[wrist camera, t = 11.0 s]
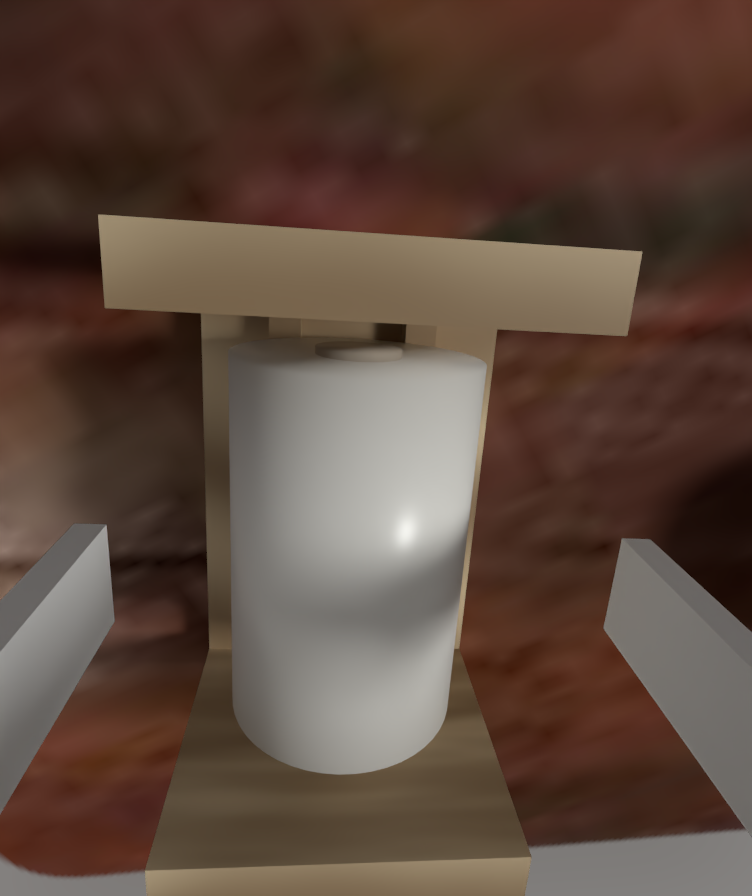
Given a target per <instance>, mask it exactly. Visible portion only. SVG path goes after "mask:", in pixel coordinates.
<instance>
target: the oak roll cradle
mask: <svg viewBox="0 0 752 896" xmlns="http://www.w3.org/2000/svg"><path fill="white" fill-rule="evenodd" d="M98 220H99V234H100V248H101V262H102V276H103V290H104V304H105V308H112V309H131V310H149V311H168V312H186V313H201V337H202V377H203V417H204V456H205V496H206V536H207V576H208V616H209V652H208V655H207V659H206V662H205V665H204V669H203V672H202V676H201V679H200V683H199V686H198V690H197V693H196V697H195V700H194V703H193V707H192V710H191V714H190V717H189V721H188V724H187V728H186V731H185V734H184V738H183V741H182V745H181V748H180V752H179V755H178V759H177V762H176V766H175V769H174V772H173V776H172V779H171V783H170V786H169V790H168V793H167V797H166V800H165V803H164V807H163V810H162V814H161V817H160V821H159V824H158V828H157V831H156V835H155V838H154V841H153V845H152V848H151V852H150V855H149V859H148V862H147V866H146V869H145V876H146V892H147V896H525V890H526V885H527V879H528V874H529V869H530V863H531V854H530V852H529V848H528V845H527V843H526V840H525V837H524V834H523V831H522V828H521V825H520V822H519V820H518V817H517V814H516V811H515V808H514V805H513V802H512V799H511V797H510V794H509V791H508V788H507V785H506V782H505V779H504V776H503V774H502V771H501V768H500V765H499V762H498V759H497V756H496V754H495V751H494V748H493V745H492V742H491V739H490V736H489V733H488V731H487V728H486V725H485V722H484V719H483V716H482V713H481V710H480V708H479V705H478V702H477V699H476V696H475V693H474V690H473V687H472V685H471V682H470V679H469V676H468V673H467V670H466V667H465V665H464V662H463V659H462V656H461V653H460V650H459V645H460V636H461V628H462V620H463V611H464V603H465V594H466V586H467V578H468V569H469V561H470V552H471V544H472V536H473V527H474V519H475V510H476V502H477V494H478V485H479V477H480V469H481V460H482V452H483V443H484V435H485V427H486V418H487V410H488V401H489V393H490V385H491V376H492V368H493V359H494V351H495V343H496V334H497V329H503V330H522V331H541V332H559V333H578V334H597V335H615V336H627V334H628V328H629V323H630V317H631V312H632V306H633V301H634V295H635V290H636V285H637V279H638V274H639V268H640V263H641V257H642V252H640V251H625V250H610V249H596V248H581V247H566V246H552V245H537V244H523V243H508V242H493V241H479V240H464V239H449V238H435V237H420V236H405V235H391V234H376V233H362V232H347V231H332V230H318V229H303V228H288V227H274V226H259V225H245V224H230V223H215V222H201V221H186V220H171V219H157V218H142V217H127V216H113V215H98ZM313 337H318V338H352V339H369V340H382V341H392V342H402V343H411V344H418V345H425V346H431V347H437V348H443V349H448V350H452V351H457V352H461V353H464V354H468V355H471V356H474V357H476V358H479V359H481V360H482V361H484V362H485V363H486V364H487V369H486V378H485V387H484V395H483V404H482V413H481V421H480V430H479V438H478V447H477V456H476V464H475V473H474V482H473V490H472V499H471V508H470V516H469V525H468V533H467V542H466V551H465V559H464V568H463V577H462V585H461V594H460V602H459V611H458V620H457V628H456V637H455V646H454V654H453V663H452V671H451V680H450V689H449V697H448V706H447V712H446V716H445V720H444V722H443V724H442V726H441V728H440V730H439V731H438V733H437V734H436V735H435V737H434V738H433V739H432V740H431V741H430V742H429V743H428V744H427V745H426V746H425V747H424V748H423V749H422V750H420V751H419V752H418V753H416V754H415V755H414V756H412V757H410V758H408V759H406V760H404V761H402V762H400V763H398V764H395V765H393V766H390V767H388V768H384V769H380V770H376V771H373V772H366V773H359V774H342V775H337V774H323V773H317V772H312V771H306V770H303V769H300V768H296V767H293V766H290V765H288V764H285V763H283V762H281V761H278V760H276V759H275V758H273V757H271V756H270V755H268V754H266V753H265V752H263V751H262V750H261V749H260V748H258V747H257V746H256V745H255V744H253V742H252V741H251V740H250V739H249V738H248V737H247V736H246V735H245V733H244V732H243V730H242V729H241V727H240V726H239V724H238V722H237V719H236V717H235V714H234V709H233V699H232V620H231V540H230V461H229V381H228V350H229V349H230V348H231V347H233V346H235V345H238V344H241V343H245V342H250V341H257V340H266V339H278V338H313Z"/></svg>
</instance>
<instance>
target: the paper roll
mask: <svg viewBox="0 0 752 896" xmlns="http://www.w3.org/2000/svg"><path fill="white" fill-rule="evenodd" d="M486 369H487V364H486V363H485V362H484V361H482V360H481V359H479V358H476V357H474V356H471V355H468V354H464V353H461V352H457V351H452V350H448V349H443V348H437V347H431V346H425V345H418V344H411V343H402V342H392V341H382V340H369V339H352V338H318V337H313V338H278V339H266V340H257V341H250V342H245V343H241V344H238V345H235V346H233V347H231V348H230V349H229V350H228V381H229V461H230V540H231V620H232V699H233V709H234V714H235V717H236V719H237V722H238V724H239V726H240V727H241V729H242V730H243V732H244V733H245V735H246V736H247V737H248V738H249V739H250V740H251V741H252V742H253V744H255V745H256V746H257V747H258V748H260V749H261V750H262V751H263V752H265V753H266V754H268V755H270V756H271V757H273V758H275V759H276V760H278V761H281V762H283V763H285V764H288V765H290V766H293V767H296V768H300V769H303V770H306V771H312V772H317V773H323V774H337V775H342V774H359V773H366V772H373V771H376V770H380V769H384V768H388V767H390V766H393V765H395V764H398V763H400V762H402V761H404V760H406V759H408V758H410V757H412V756H414V755H415V754H416V753H418V752H419V751H420V750H422V749H423V748H424V747H425V746H426V745H427V744H428V743H429V742H430V741H431V740H432V739H433V738H434V737H435V735H436V734H437V733H438V731H439V730H440V728H441V726H442V724H443V722H444V720H445V716H446V712H447V706H448V697H449V689H450V680H451V671H452V663H453V654H454V646H455V637H456V628H457V620H458V611H459V602H460V594H461V585H462V577H463V568H464V559H465V551H466V542H467V533H468V525H469V516H470V508H471V499H472V490H473V482H474V473H475V464H476V456H477V447H478V438H479V430H480V421H481V413H482V404H483V395H484V387H485V378H486Z"/></svg>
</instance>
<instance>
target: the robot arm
mask: <svg viewBox="0 0 752 896" xmlns="http://www.w3.org/2000/svg"><path fill="white" fill-rule="evenodd" d="M114 621H115V619H114V607H113V596H112V584H111V572H110V560H109V548H108V536H107V524H75V523H74V524H73V525H72V526H71V527H70V528H69V529H68V530H67V532H66V533H65V534H64V535H63V536H62V537H61V538H60V539H59V540H58V541H57V542H56V543H55V544H54V545H53V546H52V547H51V548H50V549H49V550H48V551H47V552H46V553H45V555H44V556H43V557H42V558H41V559H40V560H39V561H38V562H37V563H36V564H35V565H34V566H33V567H32V568H31V569H30V570H29V571H28V572H27V573H26V574H25V575H24V577H23V578H22V579H21V580H20V581H19V582H18V583H17V584H16V585H15V586H14V587H13V588H12V589H11V590H10V591H9V592H8V593H7V594H6V595H5V596H4V597H3V599H2V600H1V601H0V813H1V812H2V810H3V808H4V807H5V805H6V803H7V802H8V800H9V798H10V796H11V795H12V793H13V791H14V790H15V788H16V786H17V785H18V783H19V781H20V780H21V778H22V776H23V775H24V773H25V771H26V770H27V768H28V766H29V765H30V763H31V761H32V759H33V758H34V756H35V754H36V753H37V751H38V749H39V748H40V746H41V744H42V743H43V741H44V739H45V738H46V736H47V734H48V733H49V731H50V729H51V727H52V726H53V724H54V722H55V721H56V719H57V717H58V716H59V714H60V712H61V711H62V709H63V707H64V706H65V704H66V702H67V701H68V699H69V697H70V696H71V694H72V692H73V690H74V689H75V687H76V685H77V684H78V682H79V680H80V679H81V677H82V675H83V674H84V672H85V670H86V669H87V667H88V665H89V664H90V662H91V660H92V658H93V657H94V655H95V653H96V652H97V650H98V648H99V647H100V645H101V643H102V642H103V640H104V638H105V637H106V635H107V633H108V632H109V630H110V628H111V627H112V625H113V623H114ZM603 629H604V630H605V631H606V633H607V634H608V636H609V637H610V638H611V640H612V641H613V643H614V644H615V645H616V647H617V648H618V650H619V651H620V652H621V654H622V655H623V657H624V658H625V659H626V661H627V662H628V664H629V665H630V667H631V668H632V669H633V671H634V672H635V674H636V675H637V676H638V678H639V679H640V681H641V682H642V683H643V685H644V686H645V688H646V689H647V690H648V692H649V693H650V695H651V696H652V698H653V699H654V700H655V702H656V703H657V705H658V706H659V707H660V709H661V710H662V712H663V713H664V714H665V716H666V717H667V719H668V720H669V721H670V723H671V724H672V726H673V727H674V728H675V730H676V731H677V733H678V734H679V736H680V737H681V738H682V740H683V741H684V743H685V744H686V745H687V747H688V748H689V750H690V751H691V752H692V754H693V755H694V757H695V758H696V759H697V761H698V762H699V764H700V765H701V766H702V768H703V769H704V771H705V772H706V774H707V775H708V776H709V778H710V779H711V781H712V782H713V783H714V785H715V786H716V788H717V789H718V790H719V792H720V793H721V795H722V796H723V797H724V799H725V800H726V802H727V803H728V804H729V806H730V807H731V809H732V810H733V812H734V813H735V814H736V816H737V817H738V819H739V820H740V821H741V823H742V824H743V826H744V827H745V828H746V830H747V831H748V833H749V834H750V835H751V837H752V632H751V631H750V630H749V629H747V628H746V627H745V626H744V625H743V624H742V623H741V622H740V621H739V620H738V619H737V618H735V617H734V616H733V615H732V614H731V613H730V612H729V611H728V610H727V609H726V608H725V607H723V606H722V605H721V604H720V603H719V602H718V601H717V600H716V599H715V598H714V597H713V596H711V595H710V594H709V593H708V592H707V591H706V590H705V589H704V588H703V587H702V586H701V585H699V584H698V583H697V582H696V581H695V580H694V579H693V578H692V577H691V576H690V575H689V574H687V573H686V572H685V571H684V570H683V569H682V568H681V567H680V566H679V565H678V564H677V563H675V562H674V561H673V560H672V559H671V558H670V557H669V556H668V555H667V554H666V553H665V552H663V551H662V550H661V549H660V548H659V547H658V546H657V545H656V544H655V543H654V542H653V541H651V540H650V539H622V542H621V547H620V551H619V556H618V561H617V566H616V571H615V575H614V580H613V585H612V590H611V595H610V599H609V604H608V609H607V614H606V619H605V623H604V628H603Z"/></svg>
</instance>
